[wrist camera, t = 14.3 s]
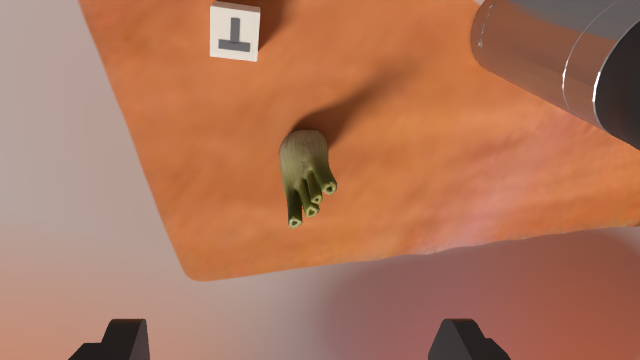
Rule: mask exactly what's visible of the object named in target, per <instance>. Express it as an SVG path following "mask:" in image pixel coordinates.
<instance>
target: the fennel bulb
mask: <svg viewBox="0 0 640 360" xmlns="http://www.w3.org/2000/svg"><path fill="white" fill-rule="evenodd" d="M279 160H280V169H281V176H282V182H283V187H284V190H285V193H286V197H287V206H288V224H289V227H290V228H295V227H298V226H300V225H301V224H302V206H303V209H304V212H305V215H306V217H308V218H309V217H313V216H315V215H316V214H318V212H319V210H320V209H319V206H318V204H319V203H321V202H322V199H323V197H322V192H321V190H322V191H323V192H324V193H327V194H330V195H332V194H333V193H334V192H335V191H336V189H337V182H336V181H335V179H334V177H333V175H332V173H331V170H330V168H329V163H328V145H327V142H326V139H325V137H324V135H323V134H322V133H320V132H319V131H317V130H304V129H303V130H296V131H294V132H291V133H290V134H289V135H288V136H287V137H286V138H285V139H284V140H283V142H282V144H281V146H280V150H279Z"/></svg>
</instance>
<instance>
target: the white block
mask: <svg viewBox="0 0 640 360" xmlns="http://www.w3.org/2000/svg"><path fill="white" fill-rule="evenodd" d="M259 25H260V7H256V6H249V5H242V4H235V3H228V2H221V1H215V2H214V3H213V4H212V5H211V6H210V56H213V57H221V58H230V59H238V60H247V61H255V62H257V54H258V39H259Z"/></svg>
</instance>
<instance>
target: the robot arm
mask: <svg viewBox="0 0 640 360" xmlns="http://www.w3.org/2000/svg"><path fill="white" fill-rule="evenodd" d="M471 46H472V51H473V54H474V56H475V58H476V60H477V61H478V62H479V64H480V65H481V66H482V67H484V68H485V69H486V70H488V71H490V72H492V73H494V74H496V75H498V76H500V77H502V78H504V79H505V80H507V81H509V82H511V83H513V84H515V85H517V86H519V87H520V88H522V89H524V90H526V91H528V92H530V93H532V94H534V95H536V96H538V97H540V98H542V99H543V100H545V101H547V102H549V103H551V104H553V105H555V106H557V107H559V108H561V109H563V110H565V111H567V112H568V113H570V114H572V115H574V116H576V117H578V118H580V119H582V120H584V121H586V122H588V123H590V124H592V125H594V126H596V127H598V128H600V129H602V130H603V131H605V132H607V133H609V134H611V135H613V136H615V137H616V138H618V139H620V140H622V141H624V142H626V143H628V144H630V145H631V146H633V147H635V148H636V149H638V150H640V0H485V1H484V2H483V4H482V5H481V7H480V9H479V10H478V12H477V14H476V17H475V19H474V22H473V26H472V30H471ZM68 360H150V353H149V344H148V334H147V325H146V320H145V319H112V320H111V321H110V323H109V325H108V327H107V329H106V332H105V334H104V337H103V339H102V342H101V343H84V344H83V345H82V346H81V347H80V348H79V349H78V350H77V351H76V352H75V353H74V354H73V355H72V356H71V357H70V358H69V359H68ZM428 360H511V359H510V358H509V356H508V354H507V353H506V352H505V351H504V350H503V349H501V347H500V346H498V345H497V344H496V343H495V342H494V341H493V340H492V339H491V338H485V337H484V335H483V333H482V332H481V330H480V328H479V327H478V325H477V323H476V322H475V321H474V320H472V319H444V320H443V321H442V323H441V326H440V328H439V330H438V333H437V335H436V337H435V340H434V342H433V344H432V346H431V349H430V351H429V354H428Z"/></svg>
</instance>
